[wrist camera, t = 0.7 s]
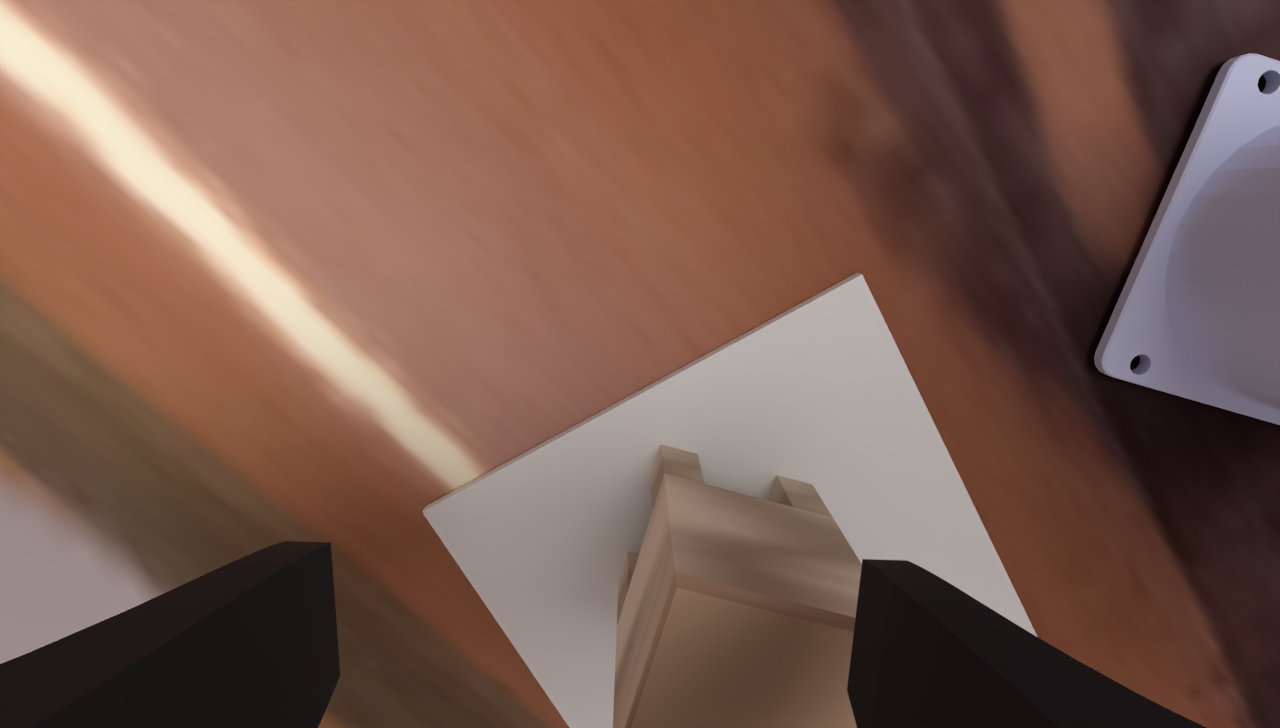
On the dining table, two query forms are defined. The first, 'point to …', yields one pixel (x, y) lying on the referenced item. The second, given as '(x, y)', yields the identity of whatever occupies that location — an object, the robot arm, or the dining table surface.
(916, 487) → the mat
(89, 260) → the dining table surface
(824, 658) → the beige notched block
